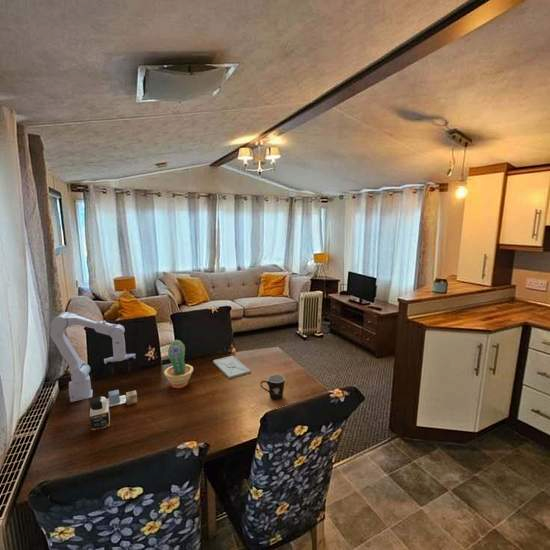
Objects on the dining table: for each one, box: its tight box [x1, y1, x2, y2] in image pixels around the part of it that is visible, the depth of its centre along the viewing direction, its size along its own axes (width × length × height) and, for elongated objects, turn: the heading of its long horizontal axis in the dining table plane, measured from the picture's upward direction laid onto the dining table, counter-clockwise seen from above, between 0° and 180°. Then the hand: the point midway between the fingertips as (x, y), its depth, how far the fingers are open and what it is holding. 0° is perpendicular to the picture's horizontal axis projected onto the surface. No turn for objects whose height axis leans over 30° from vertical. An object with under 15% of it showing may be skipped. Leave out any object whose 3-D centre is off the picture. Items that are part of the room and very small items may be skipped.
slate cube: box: [108, 389, 120, 404], centre depth 158 cm, size 4×4×4 cm
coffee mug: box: [260, 374, 286, 401], centre depth 163 cm, size 12×9×10 cm
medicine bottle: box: [89, 396, 111, 431], centre depth 140 cm, size 7×7×12 cm
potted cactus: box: [163, 339, 194, 389], centre depth 174 cm, size 15×15×25 cm
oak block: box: [125, 389, 138, 406], centre depth 158 cm, size 4×4×4 cm
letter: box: [106, 394, 127, 408], centre depth 159 cm, size 11×8×1 cm
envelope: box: [212, 355, 251, 380], centre depth 195 cm, size 24×2×14 cm
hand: (121, 373), depth 167 cm, fingers open, 7 cm apart
